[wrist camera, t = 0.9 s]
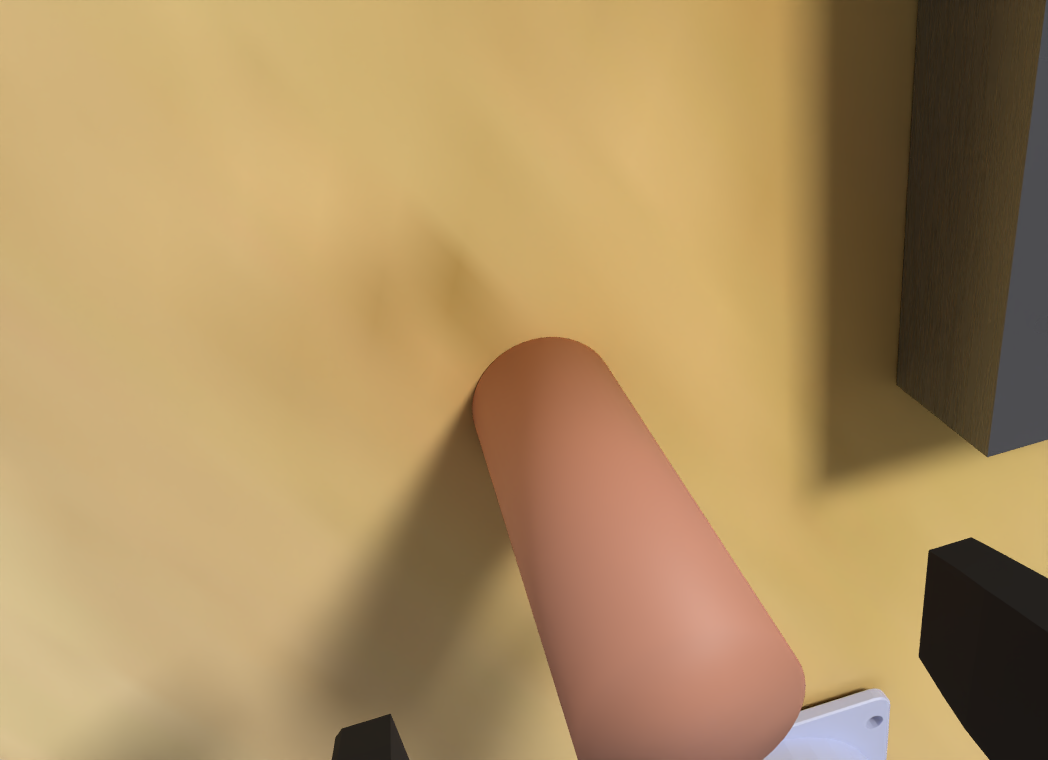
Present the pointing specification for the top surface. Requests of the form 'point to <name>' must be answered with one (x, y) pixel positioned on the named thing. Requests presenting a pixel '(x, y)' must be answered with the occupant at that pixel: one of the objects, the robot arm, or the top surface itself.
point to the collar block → (978, 222)
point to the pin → (626, 571)
